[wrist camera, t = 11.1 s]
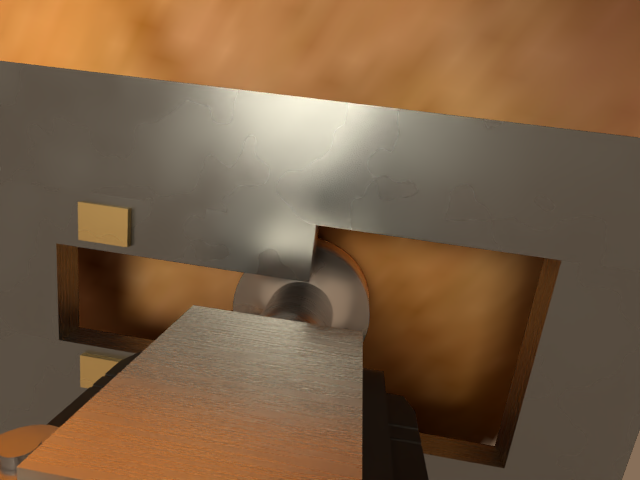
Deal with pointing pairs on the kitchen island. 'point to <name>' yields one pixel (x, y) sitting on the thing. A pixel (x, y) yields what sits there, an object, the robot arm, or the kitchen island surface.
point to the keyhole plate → (302, 231)
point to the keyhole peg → (233, 391)
